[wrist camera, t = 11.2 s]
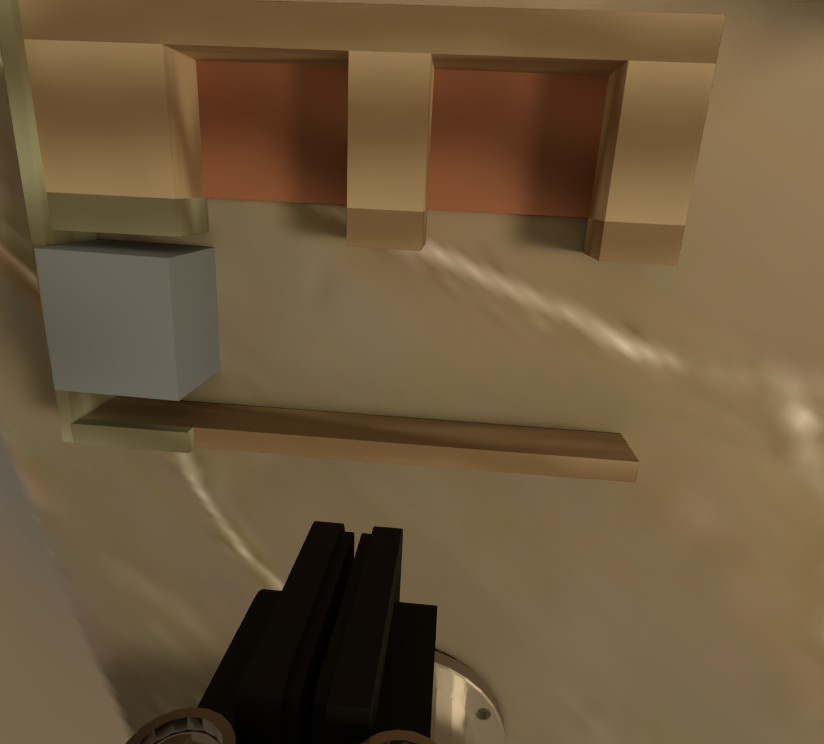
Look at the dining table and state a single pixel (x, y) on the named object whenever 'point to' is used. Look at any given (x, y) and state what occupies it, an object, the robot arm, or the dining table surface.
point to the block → (130, 317)
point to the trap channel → (355, 163)
